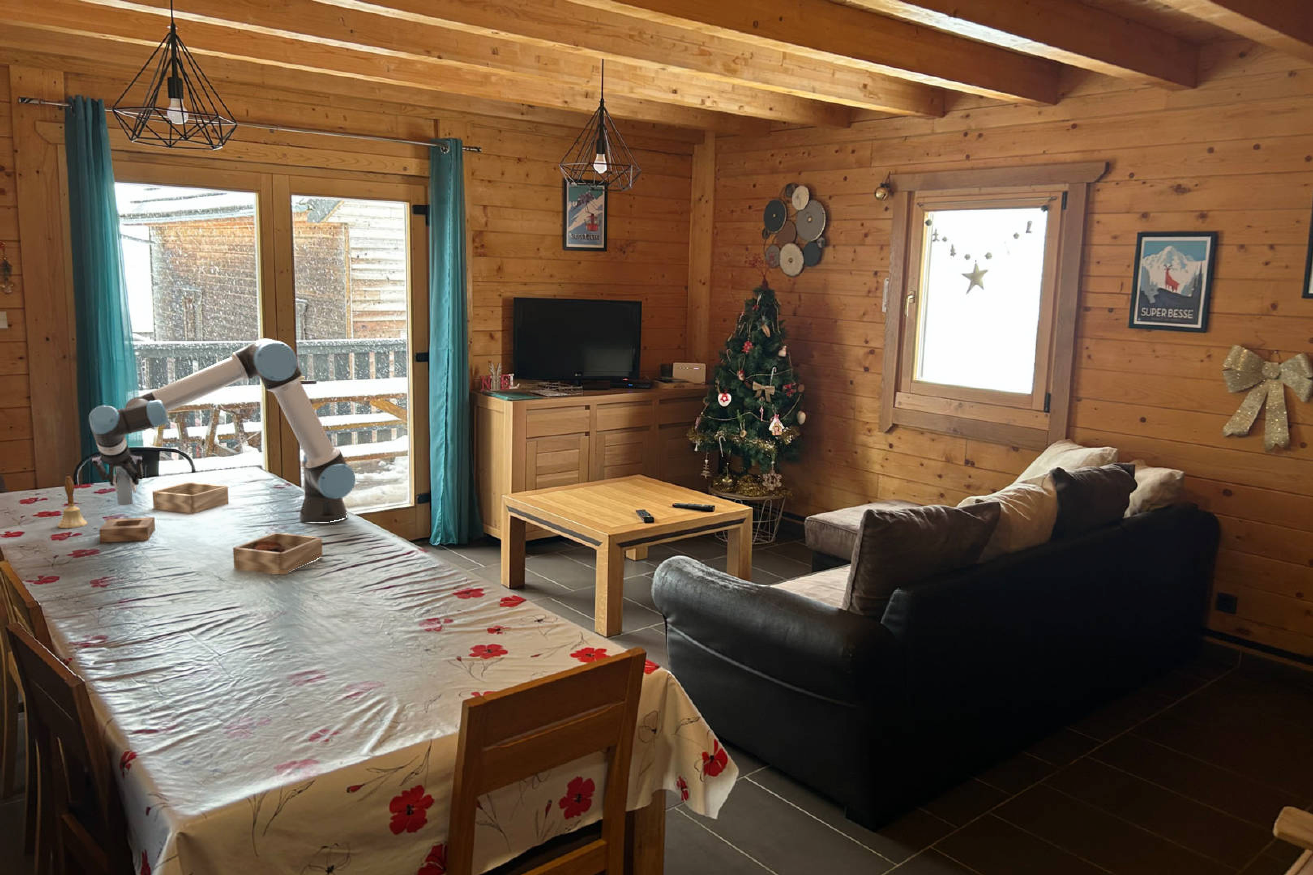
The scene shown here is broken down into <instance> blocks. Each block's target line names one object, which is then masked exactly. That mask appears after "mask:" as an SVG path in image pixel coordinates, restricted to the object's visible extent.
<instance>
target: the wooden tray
mask: <svg viewBox="0 0 1313 875" xmlns="http://www.w3.org/2000/svg"><path fill="white" fill-rule="evenodd" d="M226 504H229V487H228V486H227V485H221V484H210V483H200V482H185V483H181V484H176V485H173V486H169V487H164V488H160V489H157V490H152V505H153V509H154V510H159V511H168V512H176V513H177V512H178V513H187V514H196V513H200V512H203V511H206V510H210V509H212V508H213V509H214V508H216V507H220V506H223V505H226Z"/></svg>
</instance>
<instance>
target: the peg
mask: <svg viewBox="0 0 1313 875" xmlns="http://www.w3.org/2000/svg"><path fill="white" fill-rule="evenodd" d="M115 475H116V482H117V493H116V495H117V497H116V498H117V505H118V506H130V505H133V502H134V501H133V490H132V486H131V483H130V476H129V475H128V473H127V472H126V471H125V469H123V468H122V467H121V466H117V467H115Z"/></svg>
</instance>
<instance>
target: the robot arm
mask: <svg viewBox="0 0 1313 875" xmlns="http://www.w3.org/2000/svg"><path fill="white" fill-rule="evenodd" d="M297 359H298V358H297V356H296V353H295V351H294V350H293V348H292V347H290V345H288V344H286V343H285V342H283V341H280V340H275V339H271V338H262V339H261V338H260V339H257V340H255V341H254V342H251V343H250V344H248V345H246V346H243V347H242V348H240V349H239V350H236V351H234V352H232V353H231V356H230V357H229V358H226V359H224V360H222V361H219V362H217V363H215V364H212V365H210V366H207V367H205V368H203V369H200V370H198V371H196V372H194V373H192V374H189V375H187V376H185V377H182V378H180V379H178V380H175V381H174V382H171V383H169V384H167V385H164V386H162V387H159V388H157V389H155V390H152V391H150V392H148V393H146V394H143V395H141V396H135V397H132V398H130V399H129V400H128V401H127V402H126V403H125V406H124V408H118V409H116V408H115V407H114V406H111V405H98V406H96V407H95V408H93V409H92V410H91V411H90V413H89V415H88V422H89V426H90V429H91V431H92V432H91V433H92V434H93V437H94V440H95V444H96V446H97V449H98V452H99V454H100V456H96V455H93V456H92V458H91V465H93V467H95V470H96V471H97V473H98V476H99V478H100V480H101V481H103V482H104V481H106V480H107V481H108V482H109V485H110V486H111V487H114V490H115V492H116V494H117V482H116V474H114V471H115V468H116V467H117V466H121V467H122V468H123V469H125V471H126V472H127V473H128V475H129V476H130V483H131V486H132V494H137V489H138V485H139V484H140V483H139V482H140V480H142V479H143V478H144V468H143V463H142V461H143V454H137V455H133V453H131V451H130V448H129V445H128V442H127V439H126V435H127V436H128V435H130V434H132V433H134V434H135V433H136V432H141V431H144V430H149V429H153V428H158V427H160V426H163V425H166V424H167V423H168V422H169V419H168V415H167V413H169V412H171V411H173V410H176V409H178V408H180V407H183V406H185V405H187V404H189V403H192V402H193V401H196V400H199V399H200V398H203V397H205V396H208V395H209V394H212V393H214V392H216V391H219V390H221V389H223V388H225V387H227V386H230V385H232V384H235V383H237V382H239V381H241V380H246V381H250V380H252V379H254V378H256V377H259V378H260V380H261V383H262V385H263V387H264V389H265V390H266V391H268V392H271V393H272V394H274V396H275V398H276V400H277V403H278V404H279V406H280V408H281V411H282V413H283V414H284V416H285V418H286V420H287V422H288V423H289V424H288V425H290V427H291V429H292V432H293V433H294V435H295V437H296V439H297V442H298V444H299V446H300V447H301V449H302V451H303V453H304V455H303V458H302V459H303V461H302V464H303V486H304V487H303V488H304V498H303V501H302V505H301V509H300V512H299V521H300V520H301V521H300V522H302V521H303V522H302V523H304V522H330V521H334V520H339V519H342V518H346V515H347V516H348V510H347V509H346V505H345V502H344V500H343V498H344V497H346V496H347V495H349V494H350V493H351V492H353V489H354V487H355V484H356V474H355V472H354V470H353V469H352V467H351V466H350V465H348V463H347V461H346V460H345V457H344V456H343V454H342V453H343V452H342V451H341V450H340V449H338V448H335V447H334V446H333V444H332V442H331V441H330V439H329V437H328V434H327V433H326V430H325V429H324V426H323V424H322V422H321V421H320V419H319V416H318V414H317V413H316V411H315V408H314V406H313V404H312V402H311V400H310V398H309V396H308V394H307V392H306V390H305V389H304V386H303V385H302V382H301V379H302V377H303V372H302V371H301V369H300V367H299V365H298V360H297ZM132 461H133V464H134V465H135V468H136V469H135V468H134V467H133V465H132V463H131V462H132ZM103 463H104V464H106V465H108V473H107V471H106V469H105V467H104V464H103ZM346 512H347V513H346ZM346 519H347V518H346Z"/></svg>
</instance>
